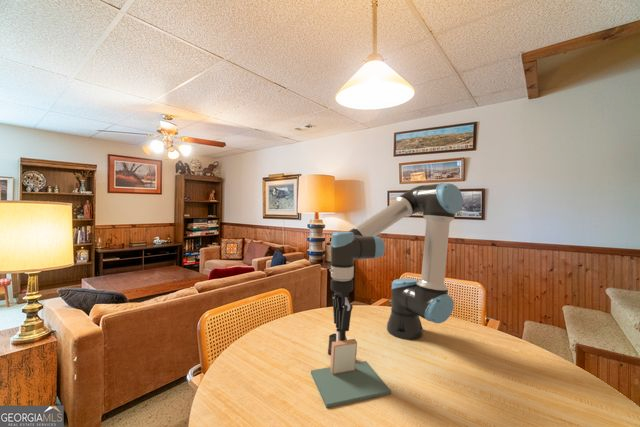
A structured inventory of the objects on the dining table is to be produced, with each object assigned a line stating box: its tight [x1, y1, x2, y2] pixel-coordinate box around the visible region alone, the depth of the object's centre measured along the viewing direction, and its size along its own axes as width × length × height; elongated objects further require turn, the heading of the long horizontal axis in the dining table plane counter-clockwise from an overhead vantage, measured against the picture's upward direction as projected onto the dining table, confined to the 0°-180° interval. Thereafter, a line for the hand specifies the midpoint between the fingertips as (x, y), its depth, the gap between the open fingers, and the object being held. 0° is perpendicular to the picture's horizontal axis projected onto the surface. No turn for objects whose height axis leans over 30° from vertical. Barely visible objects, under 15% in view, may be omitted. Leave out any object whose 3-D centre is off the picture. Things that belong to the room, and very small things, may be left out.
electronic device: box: [327, 333, 348, 356], centre depth 99 cm, size 4×10×8 cm, turn 46°
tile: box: [329, 338, 358, 374], centre depth 88 cm, size 8×2×10 cm, turn 107°
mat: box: [310, 360, 392, 409], centre depth 84 cm, size 20×16×1 cm
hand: (340, 348), depth 90 cm, fingers closed
